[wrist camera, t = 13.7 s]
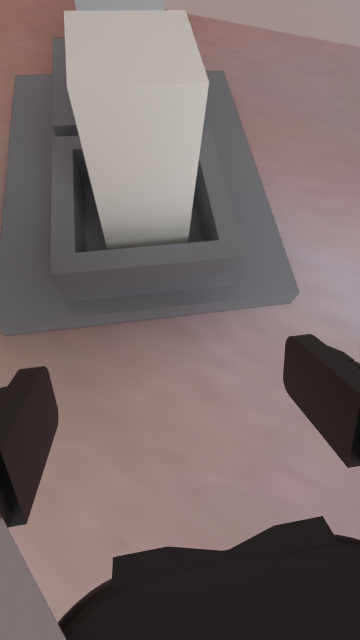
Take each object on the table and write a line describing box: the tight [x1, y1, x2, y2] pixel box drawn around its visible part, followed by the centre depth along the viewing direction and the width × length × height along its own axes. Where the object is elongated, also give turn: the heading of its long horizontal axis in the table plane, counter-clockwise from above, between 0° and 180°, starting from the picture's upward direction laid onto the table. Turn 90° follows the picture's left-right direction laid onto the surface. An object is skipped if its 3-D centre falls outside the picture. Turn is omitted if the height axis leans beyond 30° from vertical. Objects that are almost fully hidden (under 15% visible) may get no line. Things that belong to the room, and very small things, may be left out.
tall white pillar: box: [64, 10, 209, 250], centre depth 16 cm, size 5×5×10 cm
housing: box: [0, 0, 299, 336], centre depth 19 cm, size 18×23×12 cm
